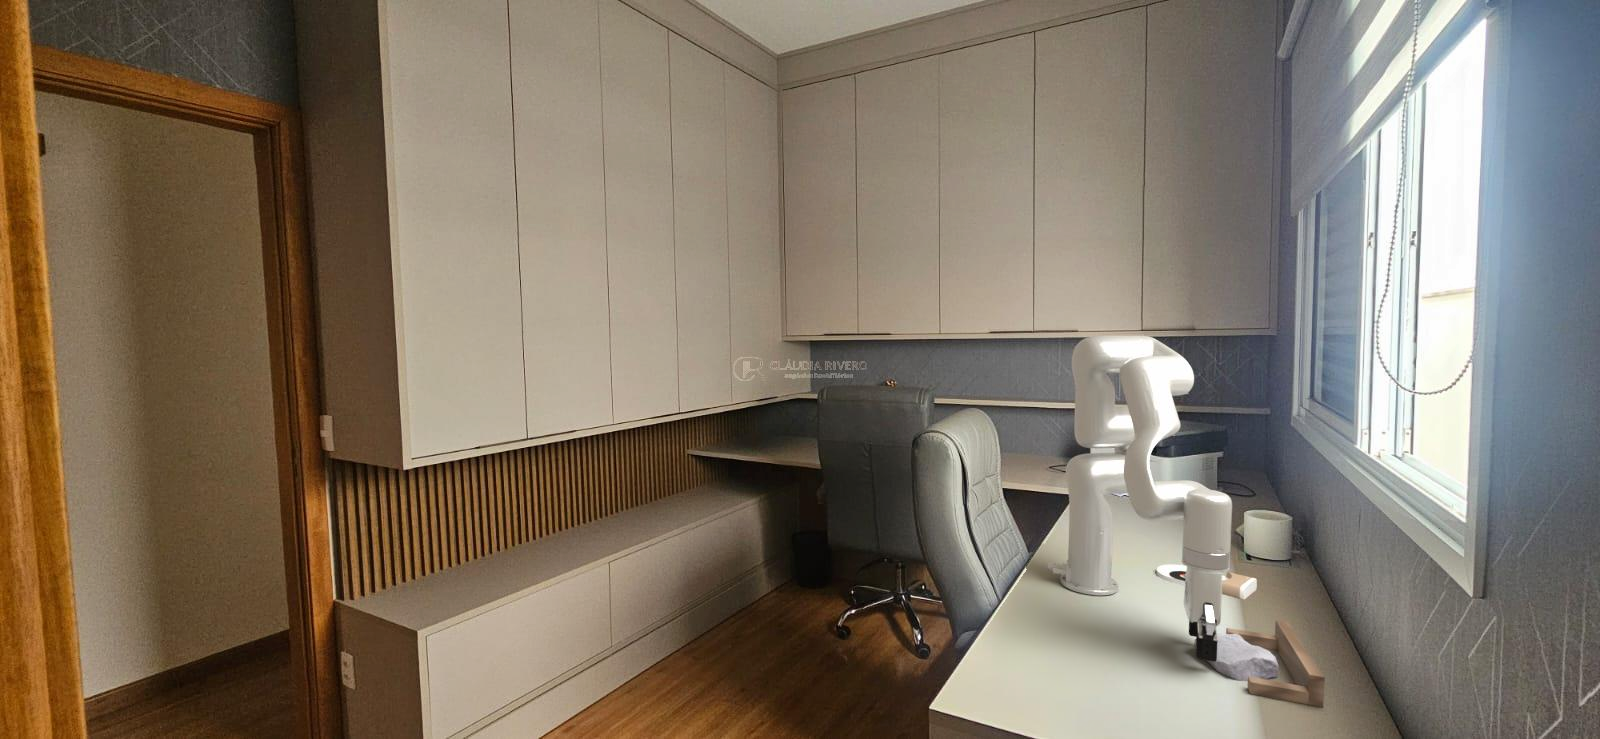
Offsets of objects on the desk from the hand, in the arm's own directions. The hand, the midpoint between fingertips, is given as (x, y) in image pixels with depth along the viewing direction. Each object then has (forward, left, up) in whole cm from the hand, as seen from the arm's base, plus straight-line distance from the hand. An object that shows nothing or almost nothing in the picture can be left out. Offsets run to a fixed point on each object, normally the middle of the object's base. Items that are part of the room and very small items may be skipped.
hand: (1202, 647), depth 124 cm
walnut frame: (+11, 0, -2) cm, 11 cm away
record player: (+6, +43, -3) cm, 43 cm away
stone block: (+5, 0, -2) cm, 5 cm away
